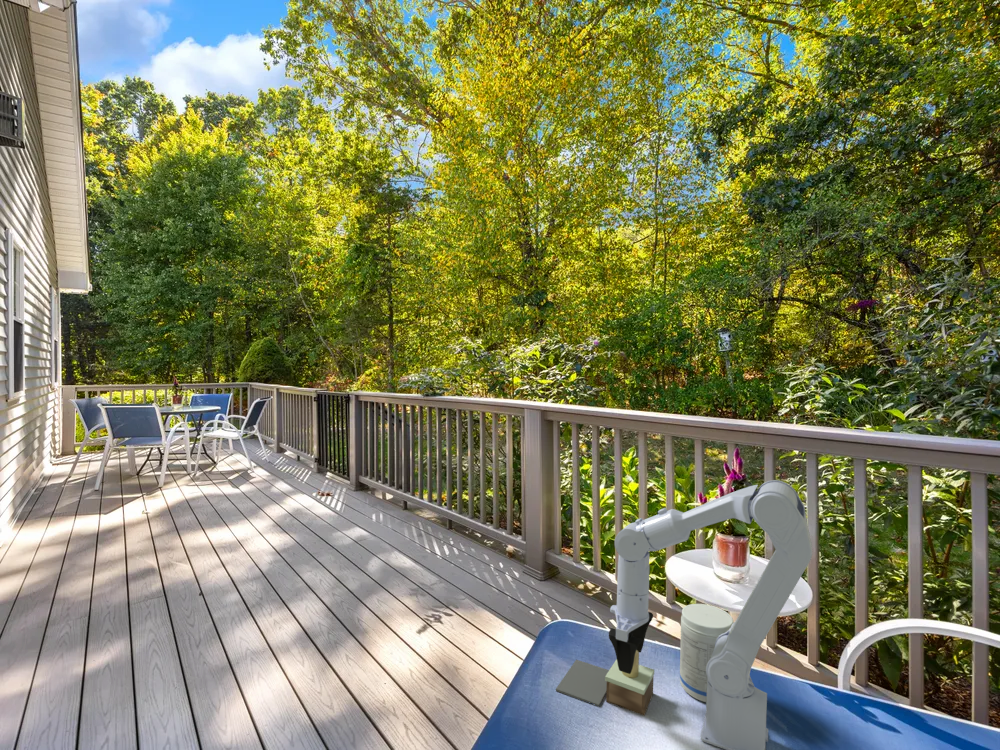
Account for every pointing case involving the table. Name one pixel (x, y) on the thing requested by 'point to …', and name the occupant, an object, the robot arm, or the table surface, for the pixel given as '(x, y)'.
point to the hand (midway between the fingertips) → (630, 660)
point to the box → (629, 698)
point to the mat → (584, 682)
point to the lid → (631, 676)
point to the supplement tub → (699, 645)
